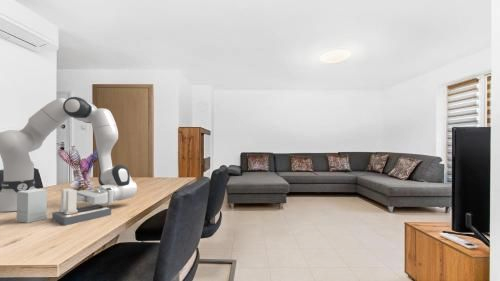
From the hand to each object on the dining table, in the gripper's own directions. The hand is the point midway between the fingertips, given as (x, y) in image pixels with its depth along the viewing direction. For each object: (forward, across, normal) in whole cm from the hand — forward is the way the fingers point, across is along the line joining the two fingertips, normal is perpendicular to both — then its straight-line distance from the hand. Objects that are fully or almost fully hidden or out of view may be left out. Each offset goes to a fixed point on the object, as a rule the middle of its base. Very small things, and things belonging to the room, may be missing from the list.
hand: (70, 199), depth 106 cm
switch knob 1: (+2, 0, +5) cm, 5 cm away
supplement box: (+10, -10, +8) cm, 17 cm away
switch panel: (-4, +4, +8) cm, 9 cm away
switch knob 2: (+2, +5, +5) cm, 7 cm away
